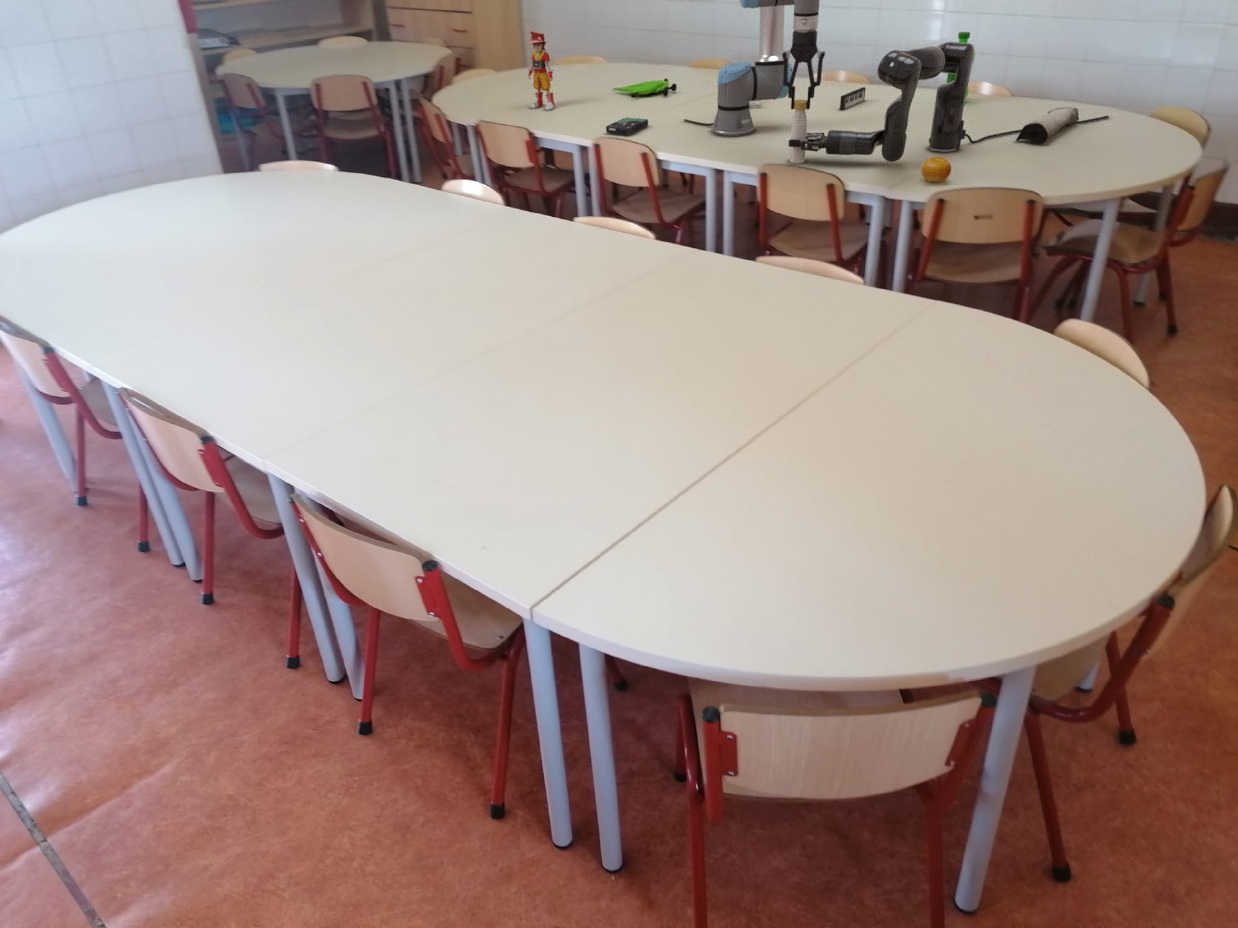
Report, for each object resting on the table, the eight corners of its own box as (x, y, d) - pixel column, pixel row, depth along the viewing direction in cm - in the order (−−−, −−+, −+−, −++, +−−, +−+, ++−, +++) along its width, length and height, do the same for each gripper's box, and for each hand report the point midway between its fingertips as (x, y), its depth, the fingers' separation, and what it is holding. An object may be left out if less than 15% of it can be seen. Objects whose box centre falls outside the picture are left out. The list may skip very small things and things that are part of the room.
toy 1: (525, 109, 381) (517, 32, 364) (534, 104, 388) (527, 28, 371) (550, 110, 377) (543, 32, 360) (559, 105, 384) (553, 28, 367)
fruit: (915, 172, 274) (932, 149, 271) (916, 174, 282) (933, 152, 279) (938, 188, 273) (956, 164, 270) (939, 189, 281) (956, 167, 278)
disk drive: (628, 136, 338) (648, 126, 348) (628, 129, 337) (648, 118, 347) (605, 134, 343) (625, 123, 353) (605, 126, 341) (625, 116, 351)
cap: (808, 106, 293) (808, 99, 292) (806, 110, 290) (807, 103, 289) (794, 106, 294) (794, 99, 293) (792, 110, 291) (793, 103, 290)
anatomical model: (728, 79, 370) (752, 73, 369) (732, 105, 376) (756, 98, 375) (735, 87, 358) (759, 81, 357) (739, 114, 364) (763, 107, 363)
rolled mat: (1045, 112, 324) (1070, 94, 316) (1059, 133, 324) (1084, 116, 316) (1011, 135, 307) (1037, 117, 298) (1026, 157, 307) (1052, 140, 299)
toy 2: (686, 85, 398) (631, 84, 414) (685, 72, 395) (629, 72, 411) (651, 104, 381) (596, 103, 397) (650, 92, 378) (594, 91, 394)
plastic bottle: (973, 101, 354) (984, 32, 339) (955, 106, 349) (966, 36, 335) (952, 97, 361) (962, 29, 346) (934, 102, 356) (944, 33, 342)
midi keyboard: (842, 110, 354) (843, 96, 351) (839, 109, 354) (840, 96, 351) (864, 100, 364) (865, 87, 361) (861, 100, 365) (863, 87, 362)
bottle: (797, 158, 305) (800, 101, 294) (807, 161, 301) (811, 103, 291) (786, 161, 302) (789, 104, 292) (797, 164, 299) (800, 106, 288)
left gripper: (775, 32, 278) (772, 111, 291) (832, 32, 274) (826, 111, 287) (778, 28, 284) (774, 105, 297) (834, 27, 280) (828, 106, 293)
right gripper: (846, 125, 297) (794, 123, 302) (840, 137, 286) (787, 135, 291) (843, 148, 301) (793, 146, 306) (838, 160, 290) (785, 158, 295)
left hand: (800, 108), depth 292 cm, fingers closed on cap, 4 cm apart
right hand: (790, 141), depth 299 cm, fingers closed on bottle, 5 cm apart
